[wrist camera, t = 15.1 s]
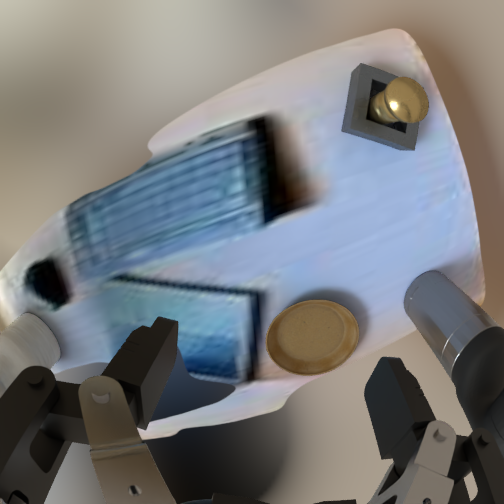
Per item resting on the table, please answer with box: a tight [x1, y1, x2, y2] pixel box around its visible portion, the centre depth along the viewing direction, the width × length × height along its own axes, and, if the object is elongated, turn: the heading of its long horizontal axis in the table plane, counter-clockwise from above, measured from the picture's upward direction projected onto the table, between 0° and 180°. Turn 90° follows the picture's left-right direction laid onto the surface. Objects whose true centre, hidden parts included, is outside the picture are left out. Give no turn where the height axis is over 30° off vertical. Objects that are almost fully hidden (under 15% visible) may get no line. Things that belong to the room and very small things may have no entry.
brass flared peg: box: [366, 77, 429, 125], centre depth 28 cm, size 5×5×11 cm
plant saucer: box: [266, 300, 359, 376], centre depth 43 cm, size 15×15×3 cm
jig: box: [342, 63, 424, 151], centre depth 31 cm, size 9×9×4 cm
